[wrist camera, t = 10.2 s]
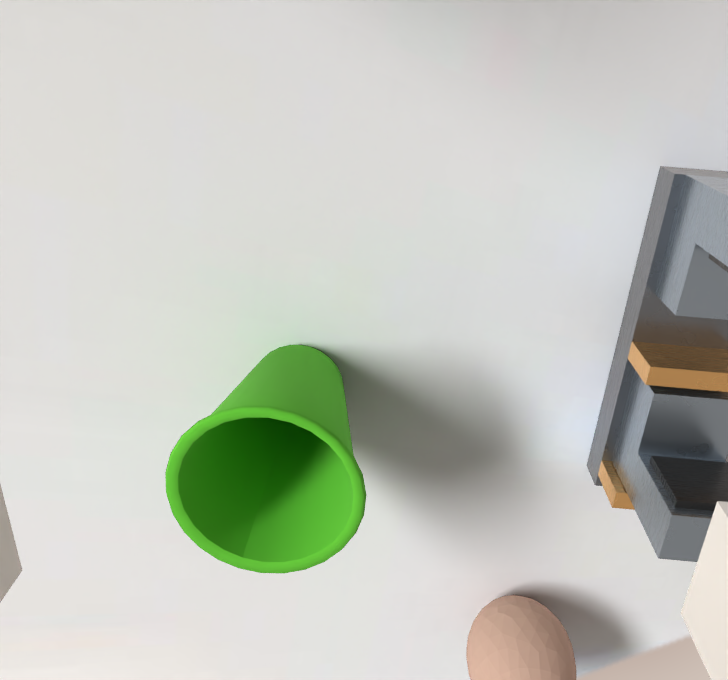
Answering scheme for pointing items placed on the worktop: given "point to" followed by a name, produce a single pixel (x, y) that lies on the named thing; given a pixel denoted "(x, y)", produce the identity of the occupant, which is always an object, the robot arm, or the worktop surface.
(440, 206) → the worktop surface
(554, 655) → the egg
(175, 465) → the cup
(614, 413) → the rail
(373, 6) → the worktop surface
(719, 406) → the l-shaped step block
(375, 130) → the worktop surface
